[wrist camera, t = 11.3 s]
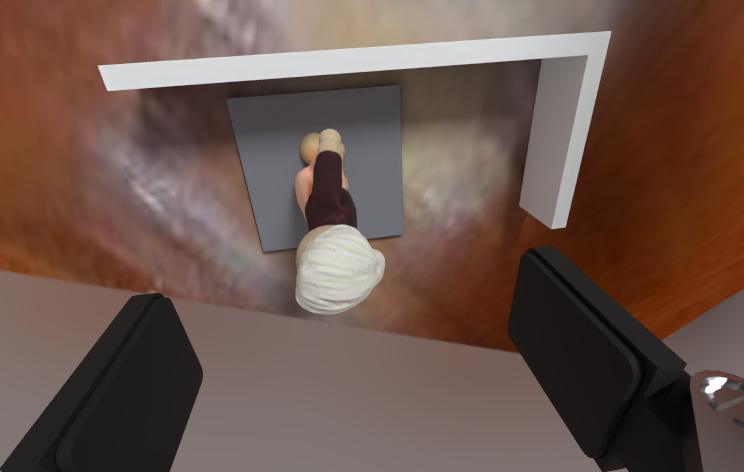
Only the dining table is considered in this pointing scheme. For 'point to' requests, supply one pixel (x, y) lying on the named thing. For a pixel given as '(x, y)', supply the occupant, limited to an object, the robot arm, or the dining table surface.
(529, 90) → the dining table surface
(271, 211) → the slate mat
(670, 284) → the dining table surface
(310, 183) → the grandmother figurine
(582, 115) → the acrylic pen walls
